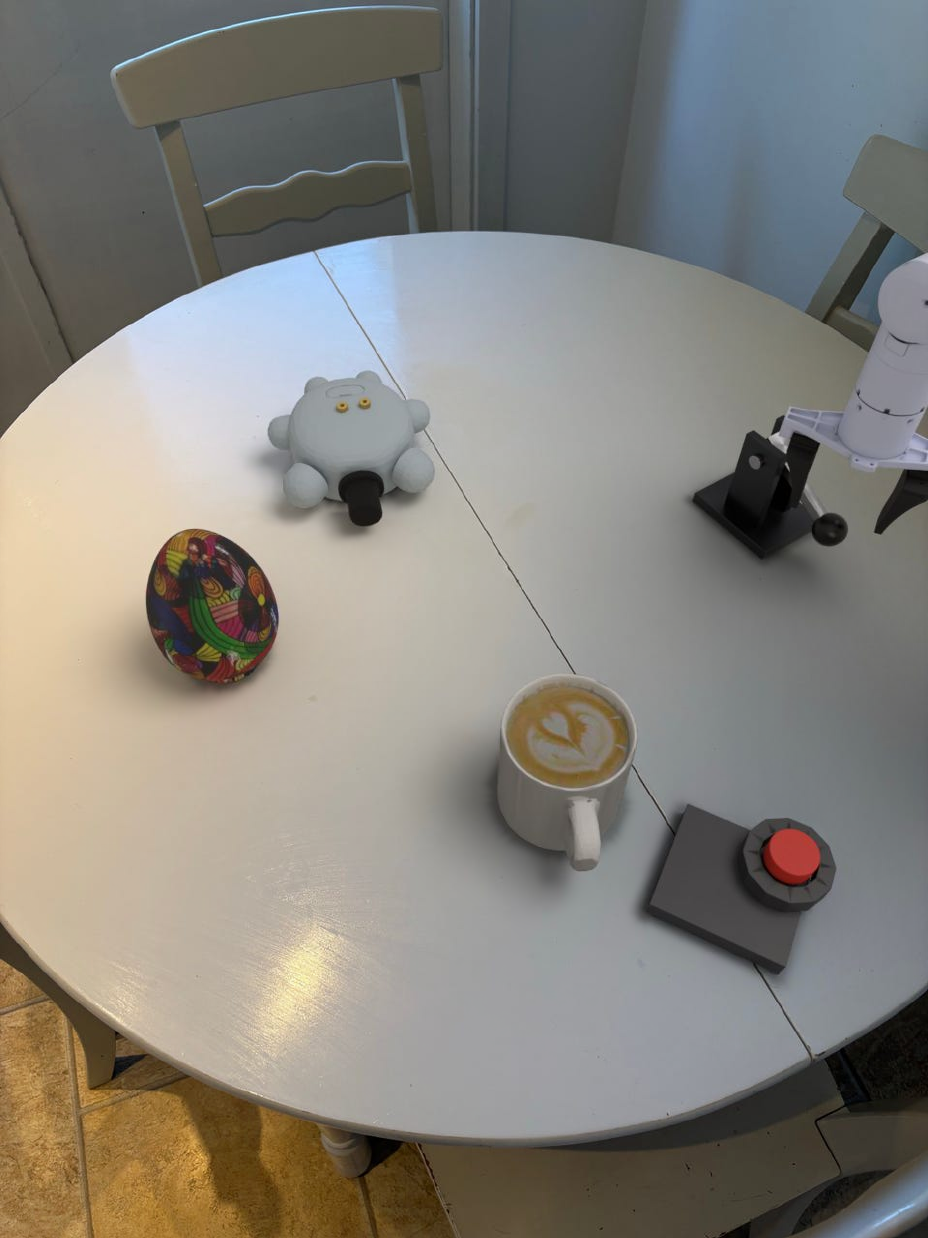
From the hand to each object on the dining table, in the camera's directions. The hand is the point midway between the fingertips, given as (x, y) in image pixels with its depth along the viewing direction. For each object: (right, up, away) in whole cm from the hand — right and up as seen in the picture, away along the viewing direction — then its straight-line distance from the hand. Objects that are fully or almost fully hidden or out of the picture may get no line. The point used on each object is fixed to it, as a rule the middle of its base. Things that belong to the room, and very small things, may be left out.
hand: (836, 513), depth 82 cm
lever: (-3, +2, +4) cm, 5 cm away
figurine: (-46, +6, +14) cm, 48 cm away
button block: (-15, -30, -15) cm, 37 cm away
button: (-11, -28, -17) cm, 34 cm away
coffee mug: (-27, -25, -11) cm, 39 cm away
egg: (-56, -13, -1) cm, 58 cm away
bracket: (-5, +1, +10) cm, 11 cm away
